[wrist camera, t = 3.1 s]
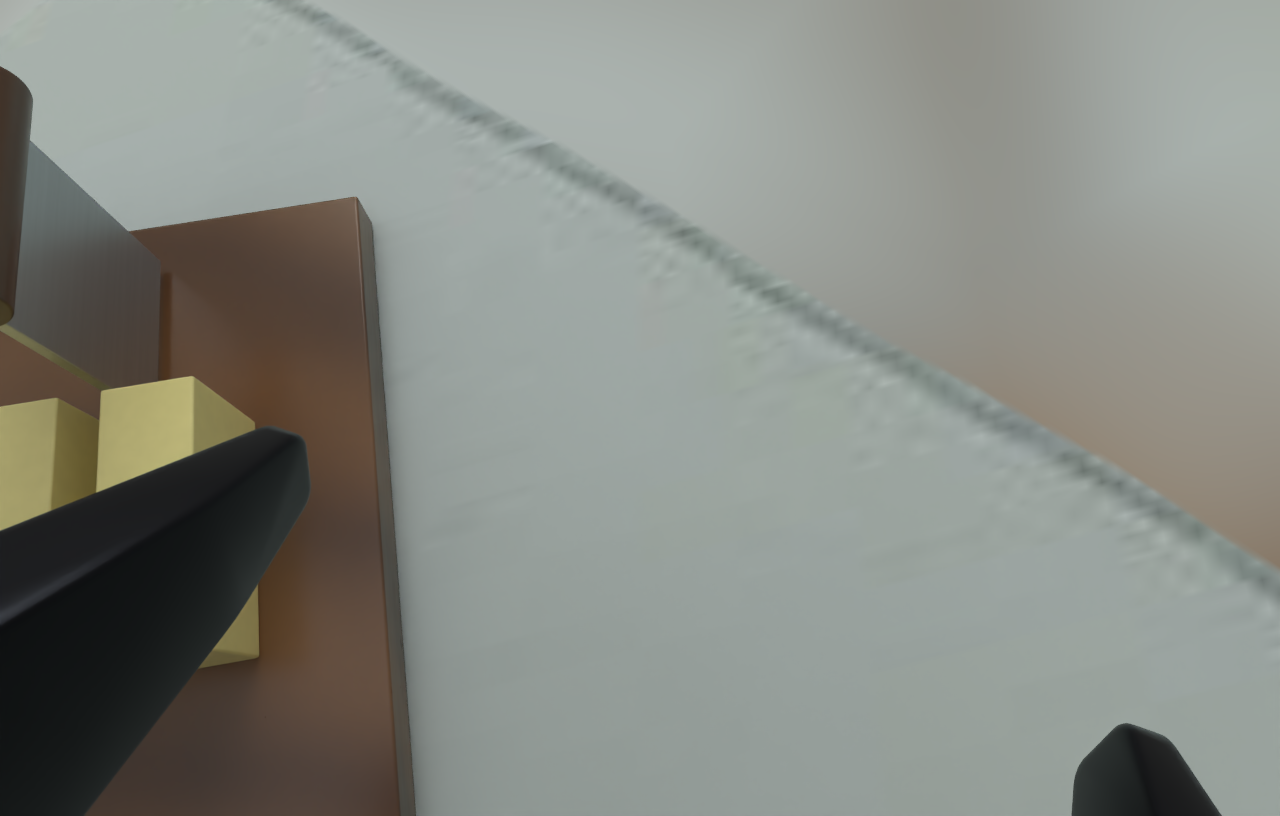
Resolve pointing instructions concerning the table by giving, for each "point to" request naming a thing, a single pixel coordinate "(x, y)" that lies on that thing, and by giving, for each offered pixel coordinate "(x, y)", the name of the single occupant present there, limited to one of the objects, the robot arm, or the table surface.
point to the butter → (116, 459)
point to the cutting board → (318, 542)
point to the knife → (70, 265)
